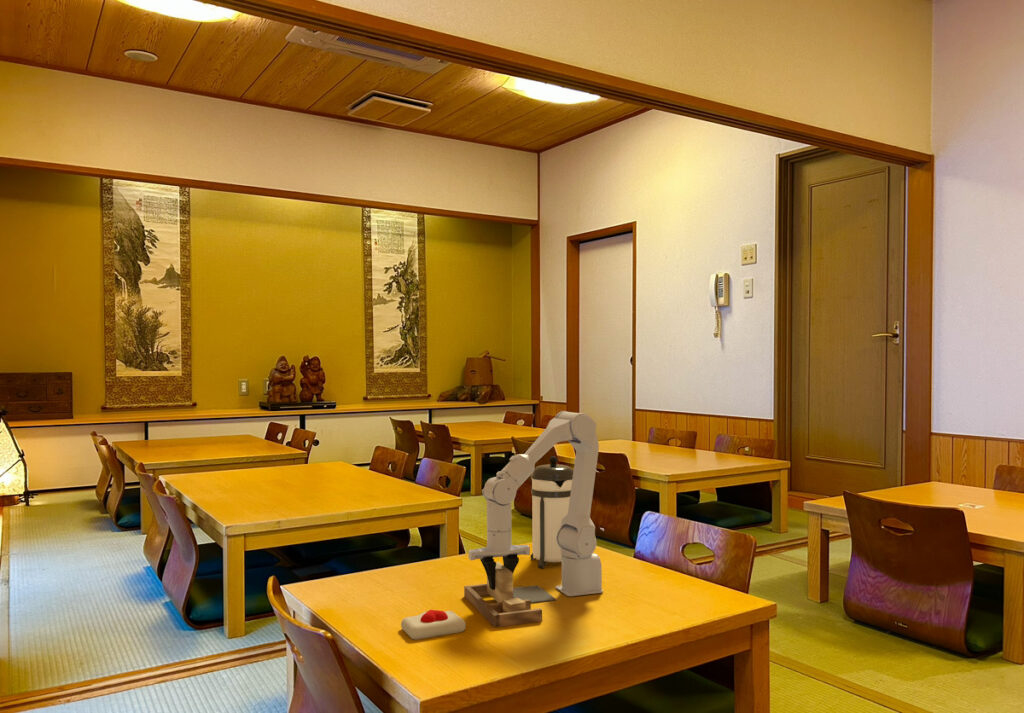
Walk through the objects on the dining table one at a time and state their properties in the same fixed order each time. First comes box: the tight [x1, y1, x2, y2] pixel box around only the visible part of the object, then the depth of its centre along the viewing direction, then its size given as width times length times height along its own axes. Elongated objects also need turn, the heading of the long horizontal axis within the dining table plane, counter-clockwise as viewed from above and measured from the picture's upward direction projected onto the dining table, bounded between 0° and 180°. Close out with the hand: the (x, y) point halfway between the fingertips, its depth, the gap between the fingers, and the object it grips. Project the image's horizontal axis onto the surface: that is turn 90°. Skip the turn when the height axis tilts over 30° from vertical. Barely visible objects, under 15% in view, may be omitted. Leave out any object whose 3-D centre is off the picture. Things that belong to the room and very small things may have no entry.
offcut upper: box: [502, 598, 526, 612], centre depth 170 cm, size 4×4×2 cm
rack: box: [463, 583, 543, 628], centre depth 176 cm, size 11×23×2 cm, turn 20°
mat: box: [513, 584, 557, 604], centre depth 186 cm, size 9×12×1 cm
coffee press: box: [529, 455, 574, 569], centre depth 217 cm, size 17×16×30 cm
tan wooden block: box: [486, 561, 514, 603], centre depth 179 cm, size 3×10×7 cm, turn 20°
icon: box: [400, 609, 466, 641], centre depth 163 cm, size 12×4×10 cm
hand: (499, 587), depth 179 cm, fingers closed on tan wooden block, 3 cm apart
